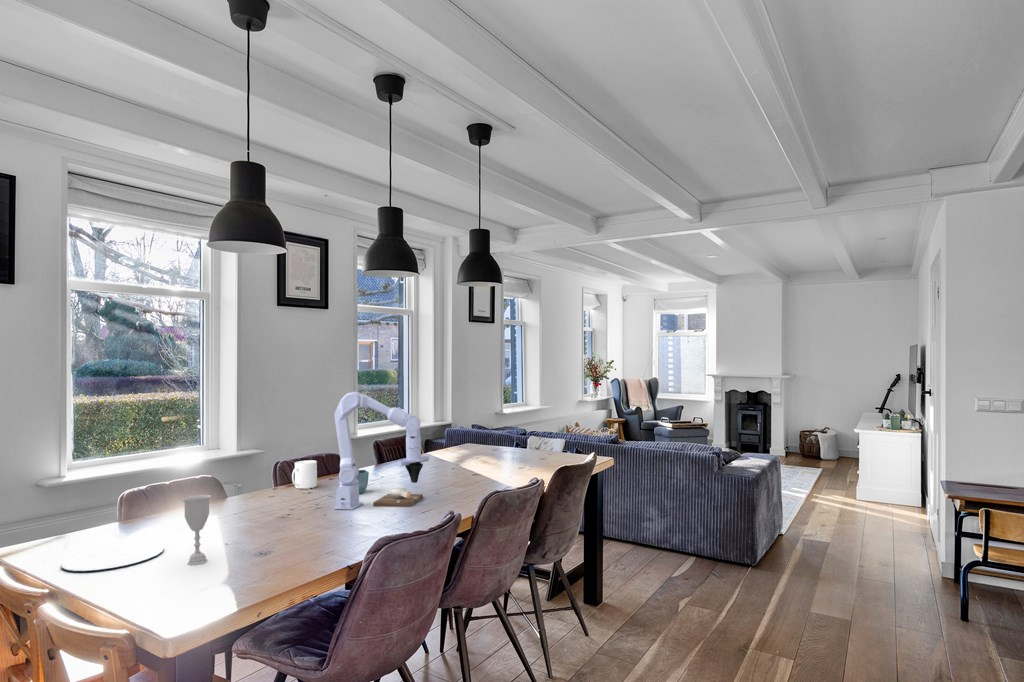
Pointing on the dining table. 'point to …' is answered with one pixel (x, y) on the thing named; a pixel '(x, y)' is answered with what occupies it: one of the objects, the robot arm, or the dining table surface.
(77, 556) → the plate
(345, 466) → the robot arm
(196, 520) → the chalice
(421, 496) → the strip board
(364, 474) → the flower pot
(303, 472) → the mug
